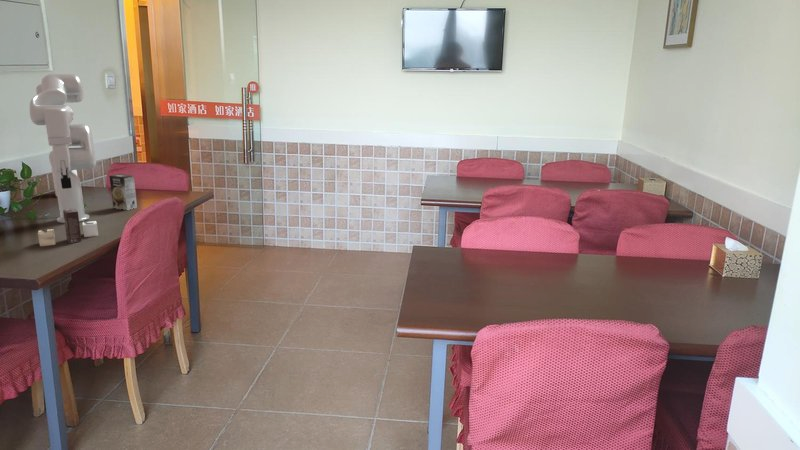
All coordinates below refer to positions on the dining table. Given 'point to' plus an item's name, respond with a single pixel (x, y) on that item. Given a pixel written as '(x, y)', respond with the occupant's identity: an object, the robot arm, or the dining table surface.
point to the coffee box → (123, 191)
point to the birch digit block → (46, 237)
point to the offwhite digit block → (90, 229)
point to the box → (72, 225)
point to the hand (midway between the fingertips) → (66, 187)
